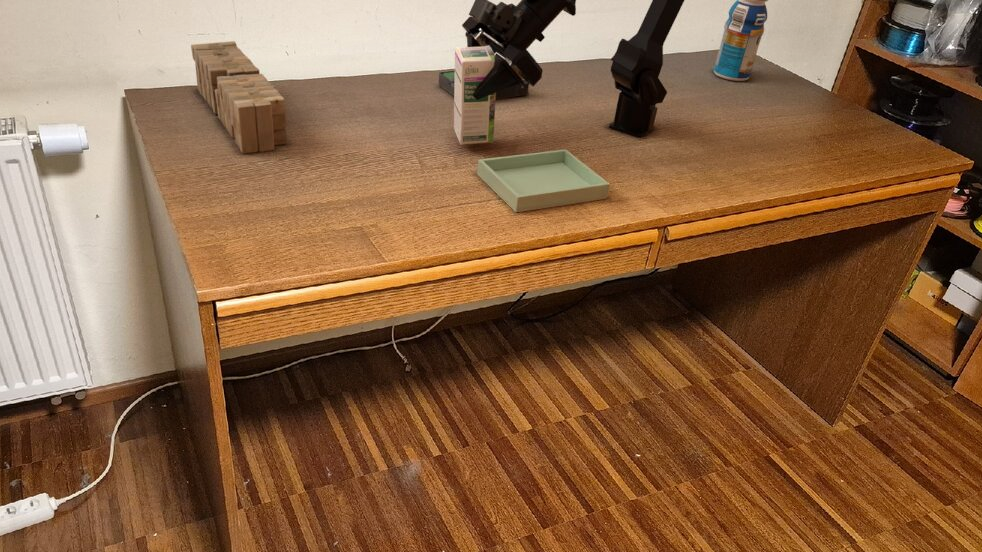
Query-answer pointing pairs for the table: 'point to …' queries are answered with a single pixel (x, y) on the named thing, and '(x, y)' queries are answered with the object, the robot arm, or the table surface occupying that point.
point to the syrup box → (468, 112)
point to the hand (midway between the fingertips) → (464, 89)
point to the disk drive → (448, 84)
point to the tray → (542, 180)
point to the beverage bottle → (741, 39)
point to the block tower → (240, 96)
